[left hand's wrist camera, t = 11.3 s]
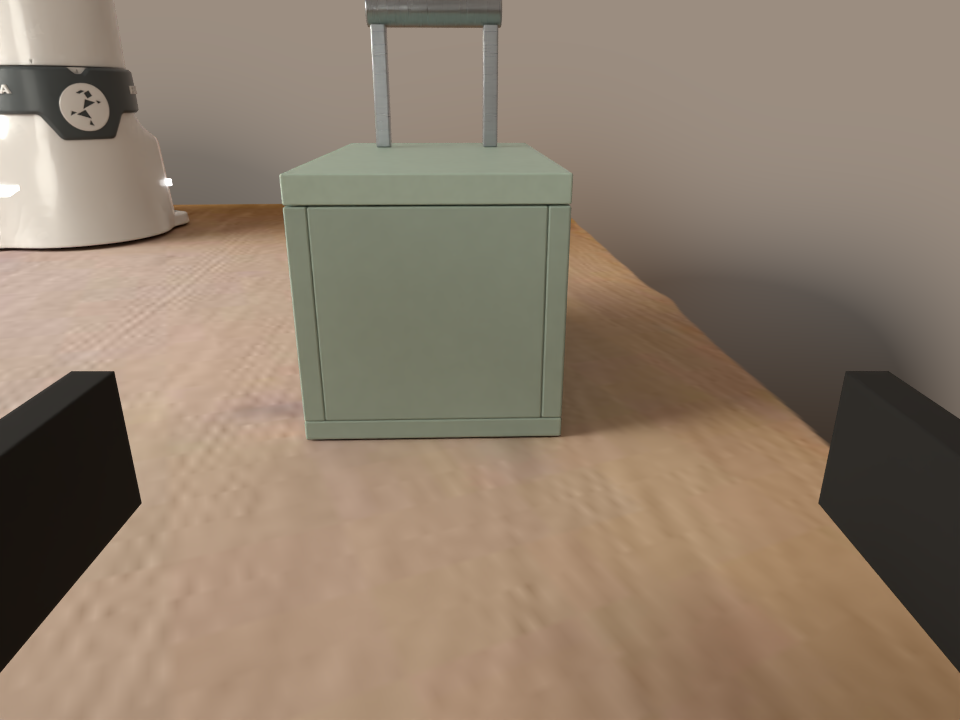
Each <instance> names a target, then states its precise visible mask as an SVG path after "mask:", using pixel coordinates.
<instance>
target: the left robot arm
mask: <svg viewBox="0 0 960 720" xmlns="http://www.w3.org/2000/svg"><path fill="white" fill-rule="evenodd" d="M140 505H141V498H140V493H139V488H138V484H137V479H136V474H135V469H134V464H133V459H132V455H131V450H130V445H129V440H128V435H127V431H126V426H125V421H124V416H123V411H122V407H121V402H120V397H119V392H118V387H117V383H116V378H115V373H114V371H71V372H70V373H68V374H67V375H65V376H64V377H62V378H61V379H59V380H58V381H56V382H55V383H53V384H52V385H50V386H49V387H47V388H46V389H44V390H43V391H41V392H40V393H39V394H37V395H36V396H34V397H33V398H31V399H30V400H28V401H27V402H25V403H24V404H22V405H21V406H19V407H18V408H16V409H15V410H13V411H12V412H10V413H9V414H7V415H6V416H4V417H3V418H1V419H0V672H1V671H2V670H3V669H4V668H5V666H6V665H7V664H8V663H9V662H10V660H11V659H12V658H13V657H14V656H15V654H16V653H17V652H18V651H19V650H20V648H21V647H22V646H23V645H24V644H25V642H26V641H27V640H28V639H29V638H30V636H31V635H32V634H33V633H34V632H35V630H36V629H37V628H38V627H39V626H40V624H41V623H42V622H43V621H44V620H45V618H46V617H47V616H48V615H49V614H50V612H51V611H52V610H53V609H54V608H55V606H56V605H57V604H58V603H59V602H60V600H61V599H62V598H63V597H64V596H65V594H66V593H67V592H68V591H69V590H70V588H71V587H72V586H73V585H74V584H75V582H76V581H77V580H78V579H79V578H80V576H81V575H82V574H83V573H84V572H85V570H86V569H87V568H88V567H89V566H90V564H91V563H92V562H93V561H94V560H95V558H96V557H97V556H98V555H99V554H100V552H101V551H102V550H103V549H104V548H105V546H106V545H107V544H108V543H109V542H110V540H111V539H112V538H113V537H114V536H115V534H116V533H117V532H118V531H119V530H120V529H121V527H122V526H123V525H124V524H125V523H126V521H127V520H128V519H129V518H130V517H131V515H132V514H133V513H134V512H135V511H136V509H137V508H138V507H139V506H140ZM819 505H820V506H821V507H822V508H823V509H824V511H825V512H826V513H827V514H828V515H829V517H830V518H831V519H832V520H833V521H834V523H835V524H836V525H837V526H838V527H839V529H840V530H841V531H842V532H843V533H844V534H845V536H846V537H847V538H848V539H849V540H850V542H851V543H852V544H853V545H854V546H855V548H856V549H857V550H858V551H859V552H860V554H861V555H862V556H863V557H864V558H865V560H866V561H867V562H868V563H869V564H870V566H871V567H872V568H873V569H874V570H875V572H876V573H877V574H878V575H879V576H880V578H881V579H882V580H883V581H884V582H885V584H886V585H887V586H888V587H889V588H890V590H891V591H892V592H893V593H894V594H895V596H896V597H897V598H898V599H899V600H900V602H901V603H902V604H903V605H904V606H905V608H906V609H907V610H908V611H909V612H910V614H911V615H912V616H913V617H914V618H915V620H916V621H917V622H918V623H919V624H920V626H921V627H922V628H923V629H924V630H925V632H926V633H927V634H928V635H929V636H930V638H931V639H932V640H933V641H934V642H935V644H936V645H937V646H938V647H939V648H940V650H941V651H942V652H943V653H944V654H945V656H946V657H947V658H948V659H949V660H950V662H951V663H952V664H953V665H954V666H955V668H956V669H957V670H958V671H959V672H960V419H959V418H957V417H956V416H954V415H953V414H951V413H950V412H948V411H947V410H945V409H944V408H942V407H941V406H939V405H938V404H936V403H935V402H933V401H932V400H930V399H929V398H927V397H926V396H924V395H923V394H921V393H920V392H918V391H917V390H916V389H914V388H913V387H911V386H910V385H908V384H907V383H905V382H904V381H902V380H901V379H899V378H898V377H896V376H895V375H893V374H892V373H890V372H889V371H846V373H845V378H844V383H843V387H842V392H841V397H840V402H839V407H838V411H837V416H836V421H835V426H834V431H833V435H832V440H831V445H830V450H829V455H828V459H827V464H826V469H825V474H824V479H823V484H822V488H821V493H820V498H819Z"/></svg>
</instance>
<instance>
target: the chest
mask: <svg viewBox="0 0 960 720" xmlns="http://www.w3.org/2000/svg"><path fill="white" fill-rule="evenodd" d="M283 215H284V225H285V235H286V244H287V254H288V264H289V274H290V283H291V293H292V303H293V313H294V323H295V332H296V342H297V352H298V362H299V371H300V381H301V391H302V401H303V411H304V419H305V430H306V438H307V439H308V440H311V439H376V438H441V437H505V436H559V435H560V434H561V414H562V393H563V372H564V350H565V329H566V308H567V287H568V266H569V245H570V223H571V206H570V205H569V204H494V205H289V206H285V207H284V208H283Z"/></svg>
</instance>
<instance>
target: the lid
mask: <svg viewBox="0 0 960 720" xmlns="http://www.w3.org/2000/svg"><path fill="white" fill-rule="evenodd" d="M365 12H366V21H367V25H368V27H370V28H371V47H372V66H373V85H374V104H375V124H376V143H352V144H349V145H347V146H345V147H342V148H340V149H338V150H335V151H333V152H331V153H328V154H326V155H324V156H321V157H319V158H317V159H314V160H312V161H310V162H308V163H305V164H303V165H301V166H298V167H296V168H294V169H291V170H289V171H287V172H284V173H282V174H280V186H281V195H282V204H283V205H284V206H289V205H494V204H571V202H572V183H573V174H572V173H571V172H569V171H568V170H566V169H565V168H563V167H561V166H560V165H558V164H557V163H555V162H554V161H552V160H551V159H549V158H548V157H546V156H544V155H543V154H541V153H540V152H538V151H537V150H535V149H534V148H532V147H530V146H529V145H527V144H526V143H497V98H498V28H500V27H501V22H502V0H365ZM387 27H424V28H425V27H427V28H430V27H431V28H483V143H392V140H391V118H390V96H389V72H388V50H387Z"/></svg>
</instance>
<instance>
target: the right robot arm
mask: <svg viewBox="0 0 960 720" xmlns="http://www.w3.org/2000/svg"><path fill="white" fill-rule="evenodd" d="M124 69H125V63H124V57H123V51H122V45H121V39H120V33H119V28H118V22H117V16H116V10H115V4H114V0H0V248H63V247H79V246H91V245H100V244H109V243H117V242H124V241H130V240H136V239H141V238H146V237H151V236H155V235H159V234H162V233H165V232H167V231H169V230H171V229H172V228H173V227H175V226H178V225H181V224H185V223H188V222H189V218H188V214H187V212H185V211H177V210H174V207H173V203H172V198H171V194H170V190H169V186H171V185H172V181H171V179H167V176H166V172H165V168H164V163H163V159H162V155H161V151H160V146H159V143H158V140H157V138H156V137H155V136H153V135H152V134H151V133H150V132H148V131H147V130H146V129H145V128H144V127H143V126H142V125H141V124H140V122H139V121H138V119H137V118H136V116H135V114H134V113H135V112H137V111H138V104H137V99H136V94H137V92H136V87H135V86H134V83H133V79H132V74H131V72H130V71H129V70H124Z"/></svg>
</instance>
